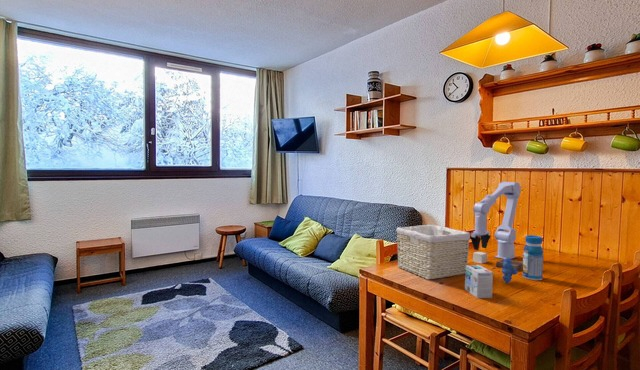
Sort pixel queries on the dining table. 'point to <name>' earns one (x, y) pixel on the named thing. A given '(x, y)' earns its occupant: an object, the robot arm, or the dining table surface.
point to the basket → (432, 250)
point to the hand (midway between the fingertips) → (480, 248)
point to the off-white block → (480, 257)
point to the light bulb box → (478, 281)
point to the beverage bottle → (533, 258)
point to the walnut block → (515, 264)
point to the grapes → (508, 270)
